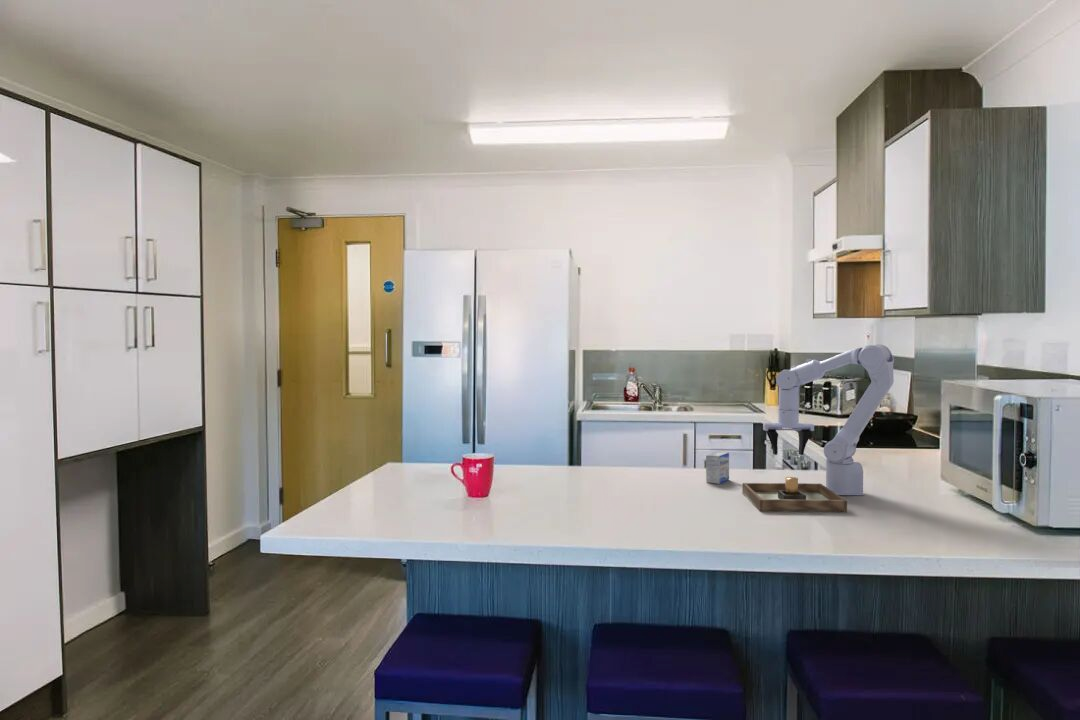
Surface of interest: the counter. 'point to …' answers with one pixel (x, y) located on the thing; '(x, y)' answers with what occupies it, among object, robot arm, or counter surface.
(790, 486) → the bronze metal cylinder
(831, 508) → the walled box
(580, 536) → the counter surface
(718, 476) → the medicine box
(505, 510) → the counter surface
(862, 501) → the counter surface
